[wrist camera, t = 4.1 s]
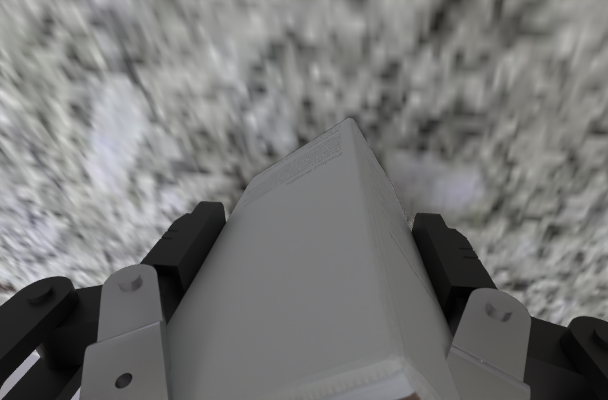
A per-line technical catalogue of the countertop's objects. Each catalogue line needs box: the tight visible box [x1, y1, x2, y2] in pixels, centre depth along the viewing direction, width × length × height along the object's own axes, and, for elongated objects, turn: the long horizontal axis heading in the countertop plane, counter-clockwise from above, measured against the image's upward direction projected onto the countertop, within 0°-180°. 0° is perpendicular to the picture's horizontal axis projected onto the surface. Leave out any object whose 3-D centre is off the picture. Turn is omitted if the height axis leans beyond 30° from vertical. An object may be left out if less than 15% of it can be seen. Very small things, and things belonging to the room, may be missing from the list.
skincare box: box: [166, 118, 460, 400], centre depth 10 cm, size 6×4×12 cm
